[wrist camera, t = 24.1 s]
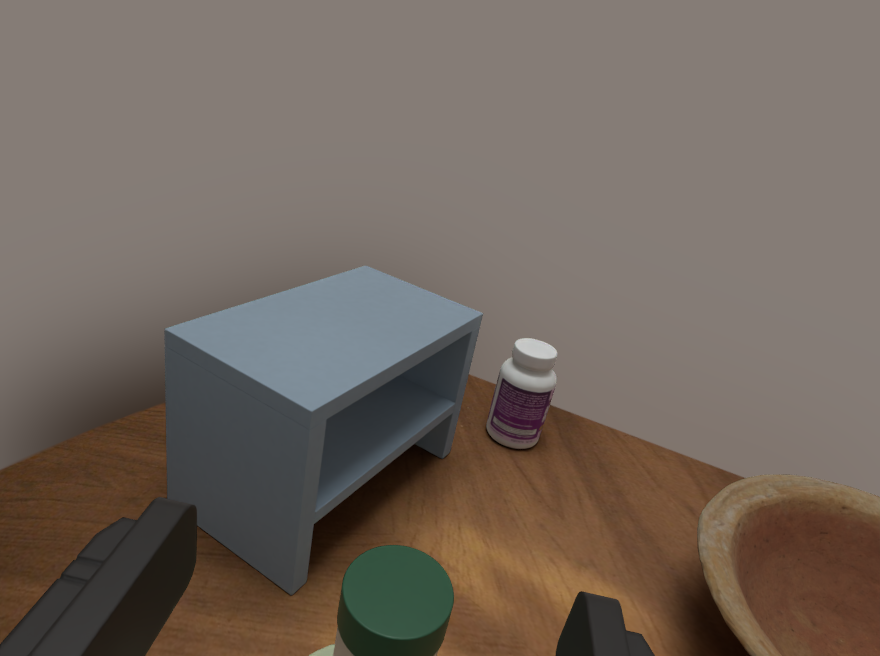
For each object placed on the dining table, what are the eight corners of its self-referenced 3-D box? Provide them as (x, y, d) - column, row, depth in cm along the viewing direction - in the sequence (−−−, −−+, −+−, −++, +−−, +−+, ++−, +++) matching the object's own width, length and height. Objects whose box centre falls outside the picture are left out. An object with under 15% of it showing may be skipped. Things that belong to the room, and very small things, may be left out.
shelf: (167, 503, 42) (164, 328, 36) (347, 397, 58) (365, 265, 52) (291, 596, 37) (311, 411, 31) (450, 452, 53) (483, 313, 47)
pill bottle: (547, 450, 56) (575, 363, 52) (496, 451, 54) (521, 362, 50) (525, 417, 61) (550, 335, 57) (477, 417, 59) (499, 332, 55)
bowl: (594, 600, 41) (631, 514, 38) (779, 516, 53) (819, 446, 50) (1003, 1068, 24) (1140, 985, 20) (1134, 782, 36) (1232, 701, 33)
